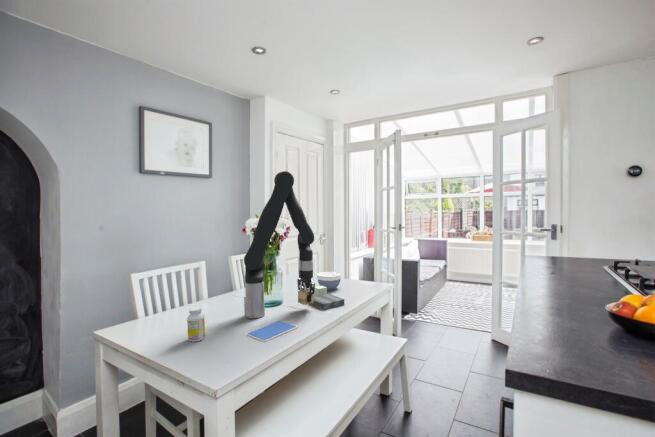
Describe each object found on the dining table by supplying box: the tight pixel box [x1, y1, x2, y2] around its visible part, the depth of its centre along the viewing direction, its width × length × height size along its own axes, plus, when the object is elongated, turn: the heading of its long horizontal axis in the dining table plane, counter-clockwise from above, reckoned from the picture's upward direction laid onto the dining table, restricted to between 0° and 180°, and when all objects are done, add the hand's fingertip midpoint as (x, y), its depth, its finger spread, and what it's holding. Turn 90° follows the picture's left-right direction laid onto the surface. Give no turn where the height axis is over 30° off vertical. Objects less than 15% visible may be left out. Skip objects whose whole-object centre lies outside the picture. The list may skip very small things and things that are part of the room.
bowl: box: [316, 271, 342, 291], centre depth 213 cm, size 16×16×10 cm
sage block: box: [314, 285, 328, 297], centre depth 193 cm, size 6×6×6 cm
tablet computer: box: [246, 320, 298, 343], centre depth 142 cm, size 19×13×1 cm, turn 140°
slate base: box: [311, 293, 345, 310], centre depth 179 cm, size 14×14×3 cm
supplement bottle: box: [186, 306, 206, 343], centre depth 135 cm, size 7×7×13 cm
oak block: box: [297, 290, 314, 306], centre depth 169 cm, size 6×6×6 cm
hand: (305, 300), depth 170 cm, fingers closed on oak block, 6 cm apart
